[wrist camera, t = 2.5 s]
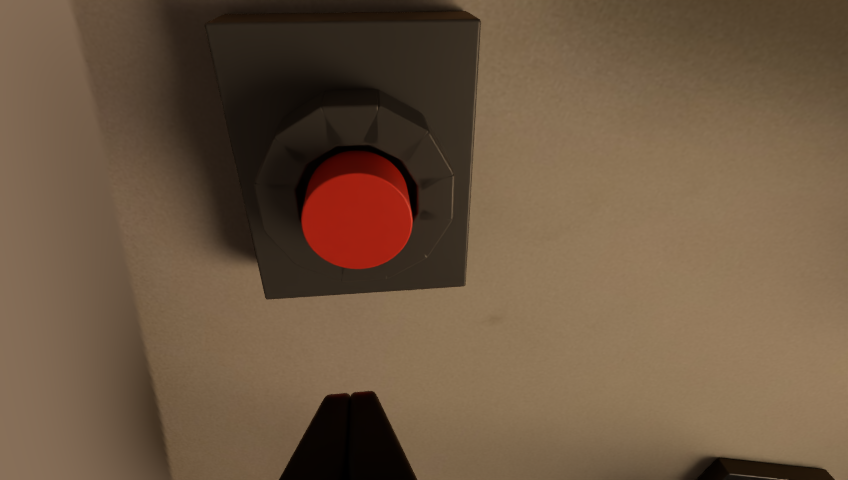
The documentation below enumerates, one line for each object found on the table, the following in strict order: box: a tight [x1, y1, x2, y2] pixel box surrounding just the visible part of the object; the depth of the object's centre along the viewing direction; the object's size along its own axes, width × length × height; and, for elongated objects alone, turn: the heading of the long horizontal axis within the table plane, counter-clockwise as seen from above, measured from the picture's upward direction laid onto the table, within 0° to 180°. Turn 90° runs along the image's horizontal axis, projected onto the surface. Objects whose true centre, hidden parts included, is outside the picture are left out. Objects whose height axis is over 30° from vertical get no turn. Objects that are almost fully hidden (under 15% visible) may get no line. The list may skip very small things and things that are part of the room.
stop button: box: [301, 150, 413, 269], centre depth 14 cm, size 3×3×2 cm
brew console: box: [205, 11, 481, 299], centre depth 16 cm, size 10×8×4 cm
